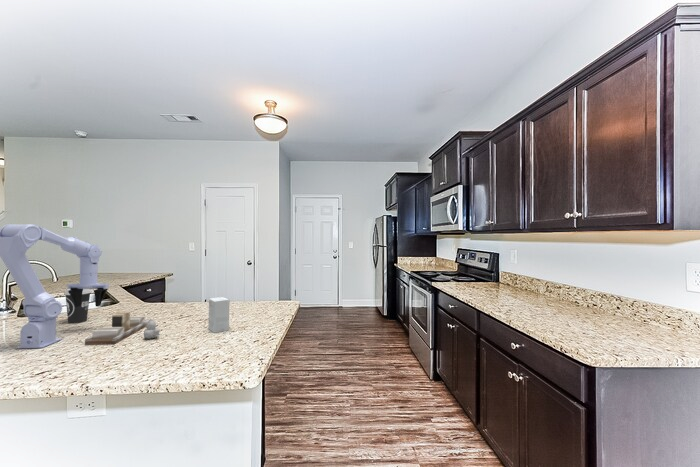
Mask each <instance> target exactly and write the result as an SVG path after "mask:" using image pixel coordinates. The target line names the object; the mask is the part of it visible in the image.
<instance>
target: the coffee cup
mask: <svg viewBox="0 0 700 467" xmlns="http://www.w3.org/2000/svg"><path fill="white" fill-rule="evenodd" d="M69 290H71V289H68V288H67V289H66V290H65V291H64V294H63V295H64V296H65V302H66V304H65V305H66V314H67V323H68V324H80V323H86V322H87V321H88V313H89V305H90V298H91V293H92V289H83V292H82V296H81V306H78V307H75V303H74V300H73V298H72V296H71V295H70V294H69V293H68V291H69Z"/></svg>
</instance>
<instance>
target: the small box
mask: <svg viewBox="0 0 700 467" xmlns="http://www.w3.org/2000/svg"><path fill="white" fill-rule="evenodd" d="M207 322H208V324H207V325H208V326H207V329H209V330H210V332H212V333H222V332H227V331H230V299H228V298H226V297H224V296H221V297H218V296H217V297H211V298H208V321H207Z"/></svg>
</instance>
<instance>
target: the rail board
mask: <svg viewBox="0 0 700 467" xmlns="http://www.w3.org/2000/svg"><path fill="white" fill-rule="evenodd" d="M148 321H150V319H148V320H146V316H144V315H143V316H142V315H141V316H137V315H136V316H130V329H128V330H126V331H124V327H112V326H107V327H105V326H103V327H102V326H101V327H99V328H96V329H94V330H92V335H91V336H90V337H87V338H85V339H84V345H85V346H94V345H96V346H98V345H116V344H118V343H120V342H121V341H123V340H125V339H127V338H128V337H130V336H132V335H133V334H136V333H137V332H140V331H141V330H143V329H144V328H146V325H147V323H148Z"/></svg>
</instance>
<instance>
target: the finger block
mask: <svg viewBox="0 0 700 467" xmlns="http://www.w3.org/2000/svg"><path fill="white" fill-rule="evenodd" d="M130 317H131V311H119V312H118V311H117V312H116V313H113V314H111V327H124V331H126V330H128V329H130Z"/></svg>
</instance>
